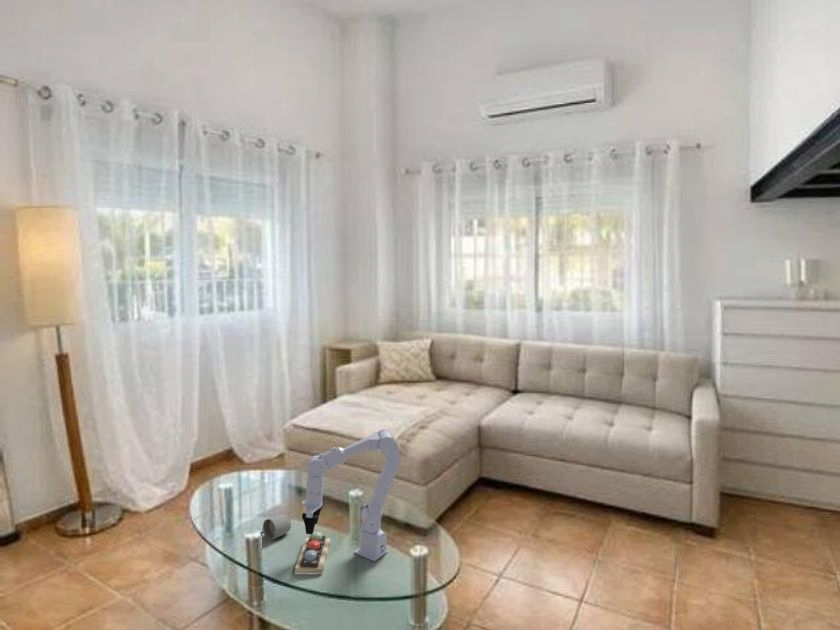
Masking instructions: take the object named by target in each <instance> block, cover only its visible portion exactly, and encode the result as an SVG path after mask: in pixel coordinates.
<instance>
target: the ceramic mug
mask: <svg viewBox="0 0 840 630" xmlns="http://www.w3.org/2000/svg"><path fill="white" fill-rule="evenodd" d="M291 527H292V523H291V519H290V517H289V516H288V515H286V514H285V513H284V514H279V515H275V516H272V517H269V518H266V519H265V520H264V521H263V524H262V531H263V534H264V536H265V538H266V539H267V540H270V541H273V540H275V539H277V538H279V537H281V536H283V535H286V534H287V533H289V532H290V530H291Z"/></svg>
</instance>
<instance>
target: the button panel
mask: <svg viewBox="0 0 840 630" xmlns="http://www.w3.org/2000/svg"><path fill="white" fill-rule="evenodd" d="M309 535H310V536H309V537H306V538H304V539H305V540H304V543H303V545H302V547H301V550H300V554H299V557H298V559H297V562H296V565H295V567H294V574H295V573H317V574H318V573H319V574H322V575H323V572H324V570H323V569H325V566H326V565H325V564H326V561H327V557H328V554H329V549H330V547H331V546H330V545H331V538H327V537H326V535H322V541H320V549H319V550H318V551H316V552H317V559H316V560H315V561H313V562H307V561H305V552H306V551H308V543H309V542H310V541H311V534H309ZM317 574H316V575H317Z"/></svg>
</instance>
